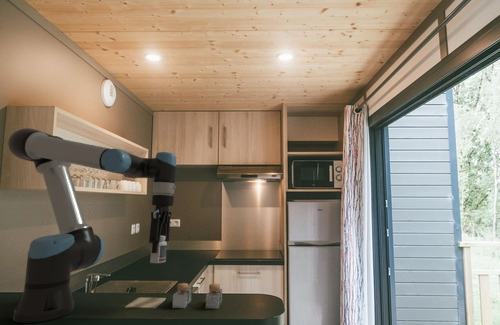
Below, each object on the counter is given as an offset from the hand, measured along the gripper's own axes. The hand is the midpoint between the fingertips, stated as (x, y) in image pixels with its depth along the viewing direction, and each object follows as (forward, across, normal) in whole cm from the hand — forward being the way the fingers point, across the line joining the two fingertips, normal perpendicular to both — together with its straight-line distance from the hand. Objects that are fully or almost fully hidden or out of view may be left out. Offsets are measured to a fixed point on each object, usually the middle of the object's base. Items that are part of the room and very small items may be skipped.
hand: (157, 261), depth 100 cm
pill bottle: (0, 0, 0) cm, 0 cm away
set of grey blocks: (+13, 0, -15) cm, 20 cm away
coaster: (+14, 0, +3) cm, 14 cm away
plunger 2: (+12, 0, -21) cm, 24 cm away
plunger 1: (+12, 0, -10) cm, 16 cm away
